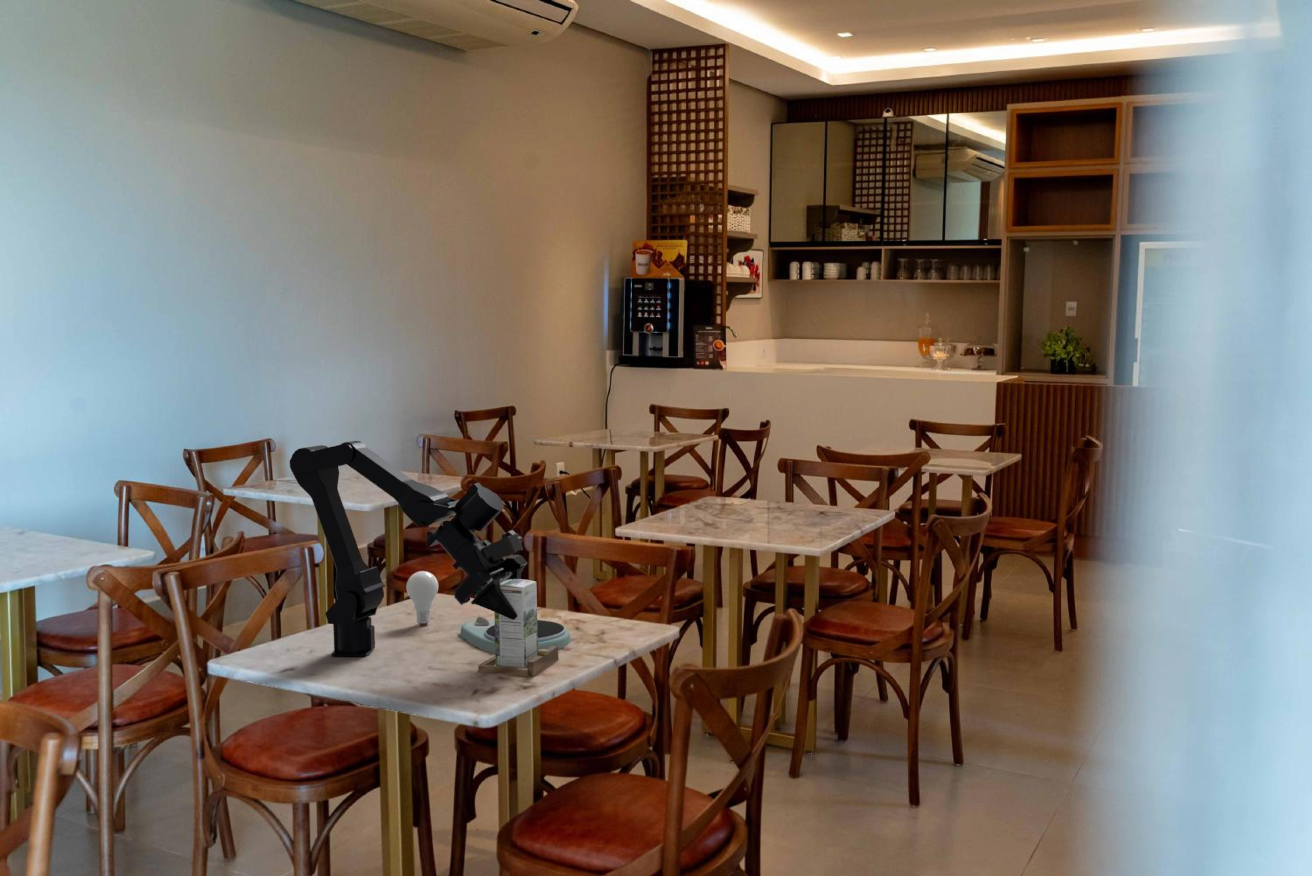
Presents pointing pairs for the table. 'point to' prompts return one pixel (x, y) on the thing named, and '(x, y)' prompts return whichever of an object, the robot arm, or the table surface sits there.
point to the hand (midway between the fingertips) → (522, 614)
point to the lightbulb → (422, 594)
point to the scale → (484, 634)
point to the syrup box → (517, 625)
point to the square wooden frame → (533, 666)
